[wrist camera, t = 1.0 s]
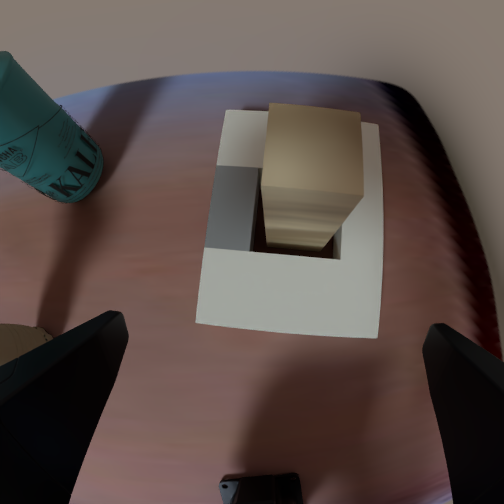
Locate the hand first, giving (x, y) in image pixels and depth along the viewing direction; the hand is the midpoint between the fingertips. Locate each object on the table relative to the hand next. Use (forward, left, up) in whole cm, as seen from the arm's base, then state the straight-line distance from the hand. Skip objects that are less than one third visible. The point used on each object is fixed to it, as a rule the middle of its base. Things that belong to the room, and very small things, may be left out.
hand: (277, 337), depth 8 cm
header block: (+7, -3, -15) cm, 16 cm away
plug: (+7, -3, -15) cm, 16 cm away
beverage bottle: (+15, +15, -15) cm, 26 cm away
